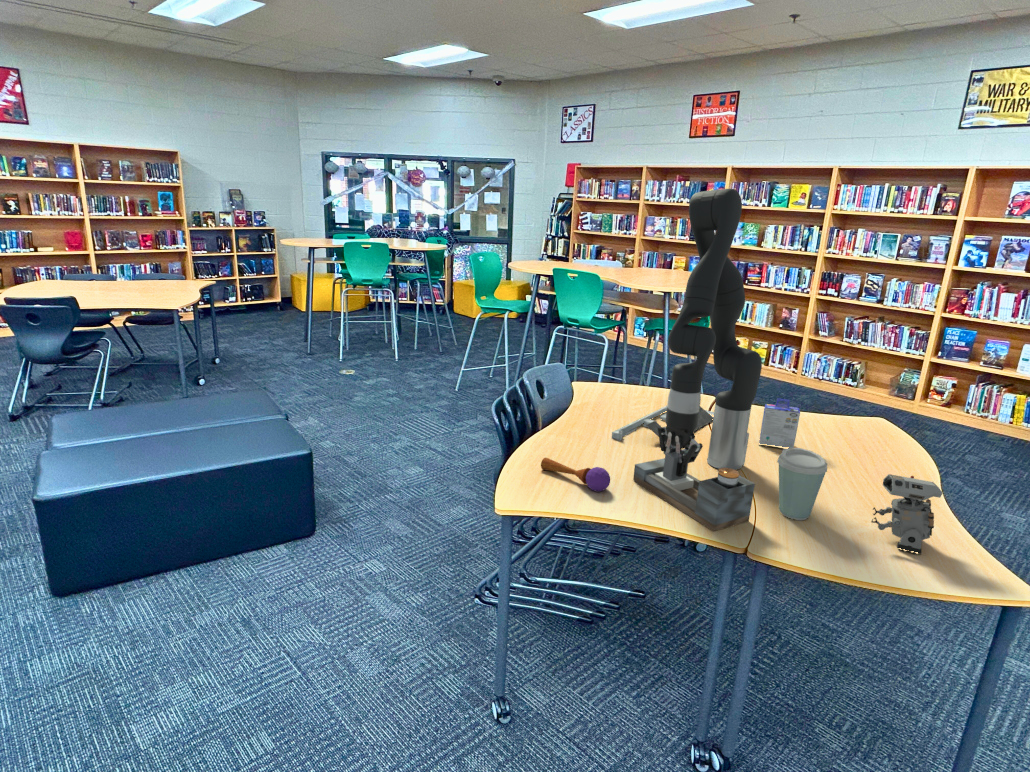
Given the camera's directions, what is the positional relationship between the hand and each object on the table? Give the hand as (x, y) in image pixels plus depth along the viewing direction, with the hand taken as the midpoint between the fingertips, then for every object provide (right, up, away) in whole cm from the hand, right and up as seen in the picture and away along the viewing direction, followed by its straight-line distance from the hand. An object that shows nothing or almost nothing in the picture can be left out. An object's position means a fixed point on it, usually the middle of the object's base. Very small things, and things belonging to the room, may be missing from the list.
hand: (674, 472), depth 153 cm
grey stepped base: (+2, -6, -3) cm, 7 cm away
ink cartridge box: (+40, +3, +34) cm, 52 cm away
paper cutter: (+11, +8, +46) cm, 48 cm away
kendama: (-24, -3, +5) cm, 25 cm away
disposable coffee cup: (+26, -9, -8) cm, 28 cm away
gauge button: (+8, -1, -15) cm, 17 cm away
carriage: (0, -3, +1) cm, 3 cm away
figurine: (+44, -13, -18) cm, 49 cm away
